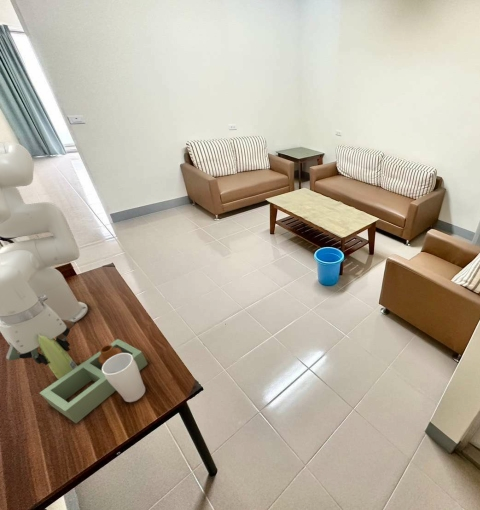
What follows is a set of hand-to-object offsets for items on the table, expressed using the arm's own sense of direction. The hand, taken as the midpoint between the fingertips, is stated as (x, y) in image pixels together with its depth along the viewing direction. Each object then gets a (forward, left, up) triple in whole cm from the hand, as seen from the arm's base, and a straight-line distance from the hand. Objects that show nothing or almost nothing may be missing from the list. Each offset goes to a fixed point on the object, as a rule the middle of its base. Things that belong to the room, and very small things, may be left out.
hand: (55, 355), depth 78 cm
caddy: (+12, +2, -8) cm, 15 cm away
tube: (0, 0, -9) cm, 9 cm away
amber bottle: (+12, +7, -8) cm, 17 cm away
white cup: (+24, +4, -9) cm, 26 cm away
